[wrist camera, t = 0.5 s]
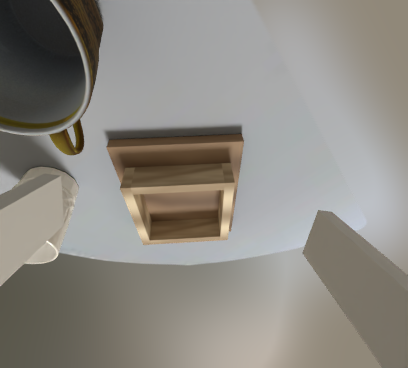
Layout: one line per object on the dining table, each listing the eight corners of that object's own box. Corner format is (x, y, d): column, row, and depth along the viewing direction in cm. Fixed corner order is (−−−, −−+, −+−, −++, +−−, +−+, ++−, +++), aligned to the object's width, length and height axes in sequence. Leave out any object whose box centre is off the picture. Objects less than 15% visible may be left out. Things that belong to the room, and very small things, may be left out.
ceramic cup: (-61, -71, 15) (-266, -79, 8) (88, -100, 14) (2, -134, 8) (57, 110, 24) (8, 176, 18) (149, 96, 24) (135, 159, 17)
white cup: (80, 205, 36) (56, 267, 29) (21, 193, 33) (-21, 258, 26) (87, 173, 31) (60, 238, 24) (18, 154, 28) (-35, 223, 21)
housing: (109, 139, 27) (98, 168, 24) (241, 134, 28) (249, 161, 25) (143, 229, 42) (139, 254, 39) (229, 224, 43) (233, 249, 39)
